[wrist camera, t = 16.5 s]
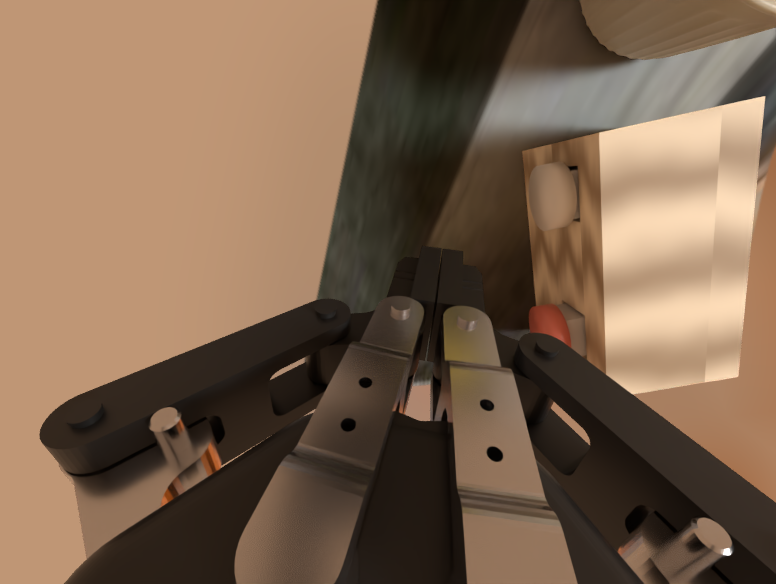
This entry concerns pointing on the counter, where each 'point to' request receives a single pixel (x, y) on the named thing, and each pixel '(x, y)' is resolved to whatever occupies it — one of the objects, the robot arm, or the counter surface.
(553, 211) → the beige plug
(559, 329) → the red plug
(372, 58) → the counter surface
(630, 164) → the block
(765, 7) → the canister
